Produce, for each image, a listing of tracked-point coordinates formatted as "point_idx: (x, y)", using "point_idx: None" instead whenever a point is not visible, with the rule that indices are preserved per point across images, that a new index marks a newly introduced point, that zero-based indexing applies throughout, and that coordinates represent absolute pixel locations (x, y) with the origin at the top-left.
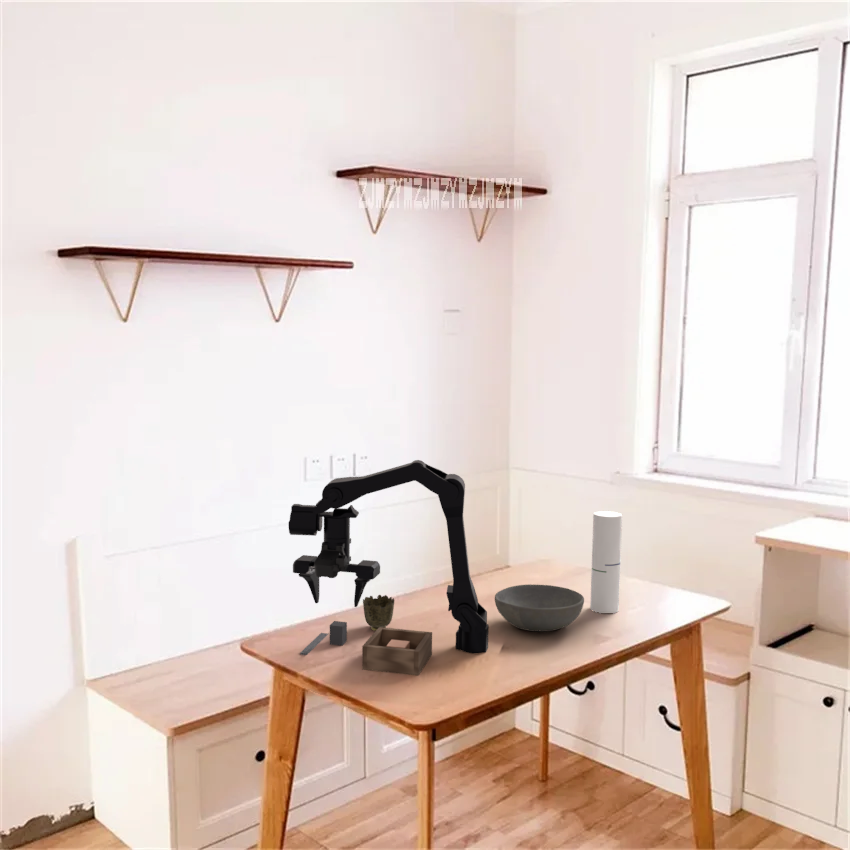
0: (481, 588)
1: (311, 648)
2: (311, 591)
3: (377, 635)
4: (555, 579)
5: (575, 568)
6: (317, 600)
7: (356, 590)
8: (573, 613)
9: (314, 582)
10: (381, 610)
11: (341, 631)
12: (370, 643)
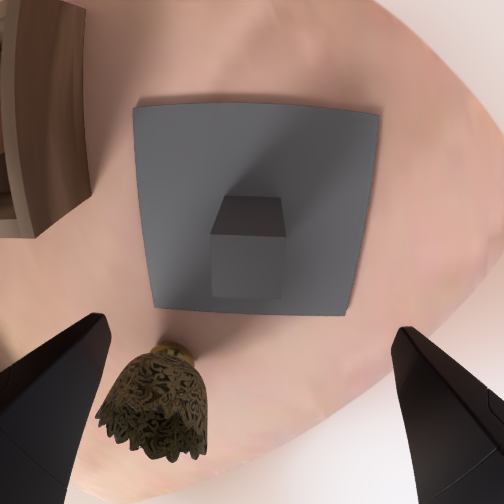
0: (124, 480)
1: (348, 166)
2: (474, 378)
3: (7, 146)
4: (74, 478)
5: (80, 489)
6: (402, 346)
7: (7, 390)
8: None
9: (480, 457)
10: (119, 391)
11: (219, 223)
12: (4, 42)
